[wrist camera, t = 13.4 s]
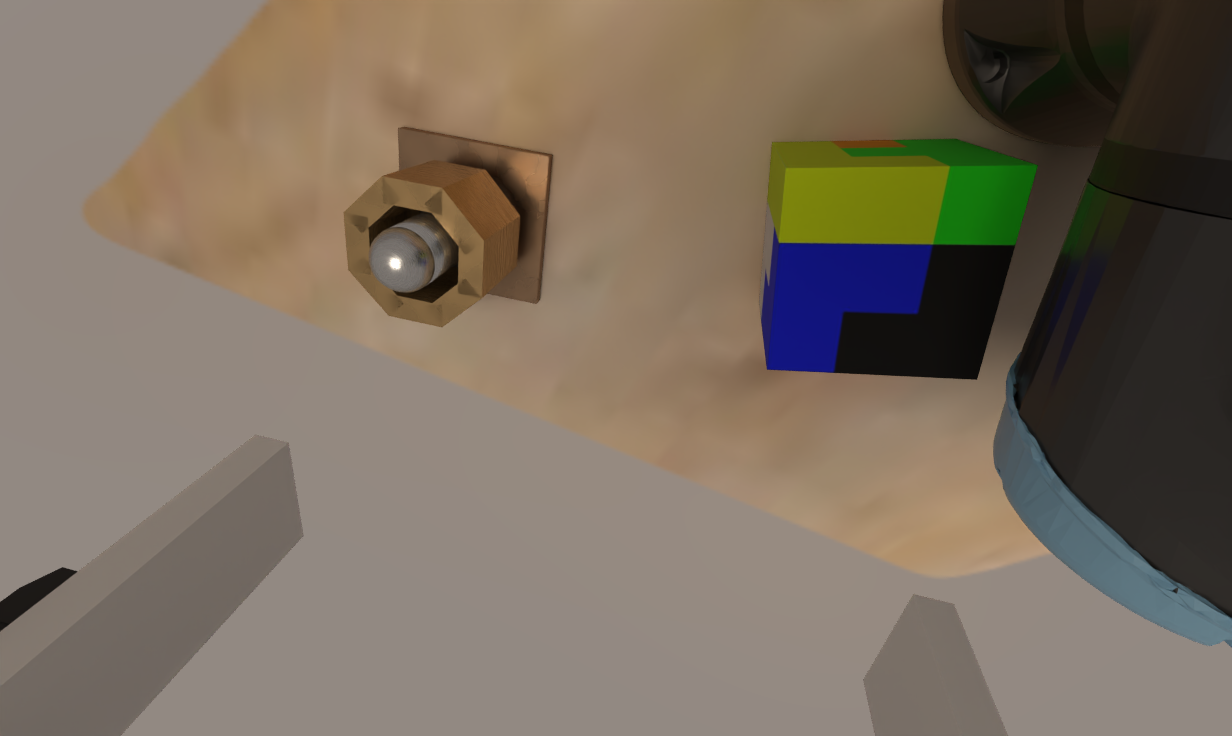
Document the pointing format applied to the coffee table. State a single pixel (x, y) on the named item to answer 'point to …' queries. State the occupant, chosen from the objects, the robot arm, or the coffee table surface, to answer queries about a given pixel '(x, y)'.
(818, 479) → the coffee table surface
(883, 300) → the puzzle toy
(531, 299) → the peg on square base
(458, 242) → the ring
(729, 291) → the coffee table surface
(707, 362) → the coffee table surface
